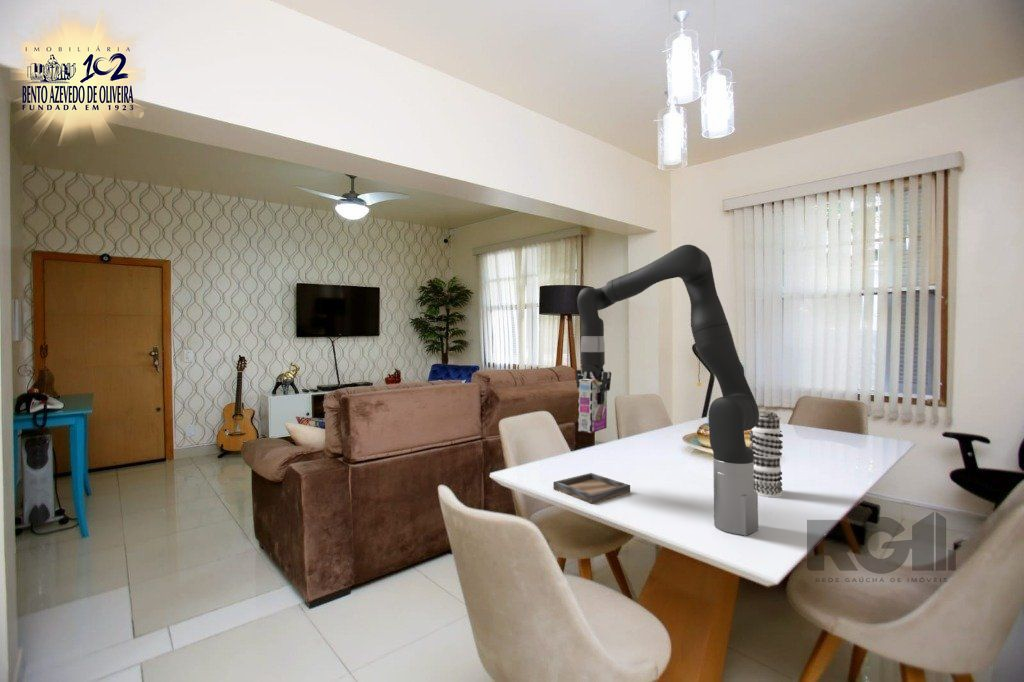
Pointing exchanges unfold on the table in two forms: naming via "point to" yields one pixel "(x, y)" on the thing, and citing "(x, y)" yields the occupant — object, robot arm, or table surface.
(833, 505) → the table surface
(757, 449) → the decorative candle
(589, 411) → the candy bar box
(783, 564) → the table surface
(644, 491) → the table surface
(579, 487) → the wooden tray
